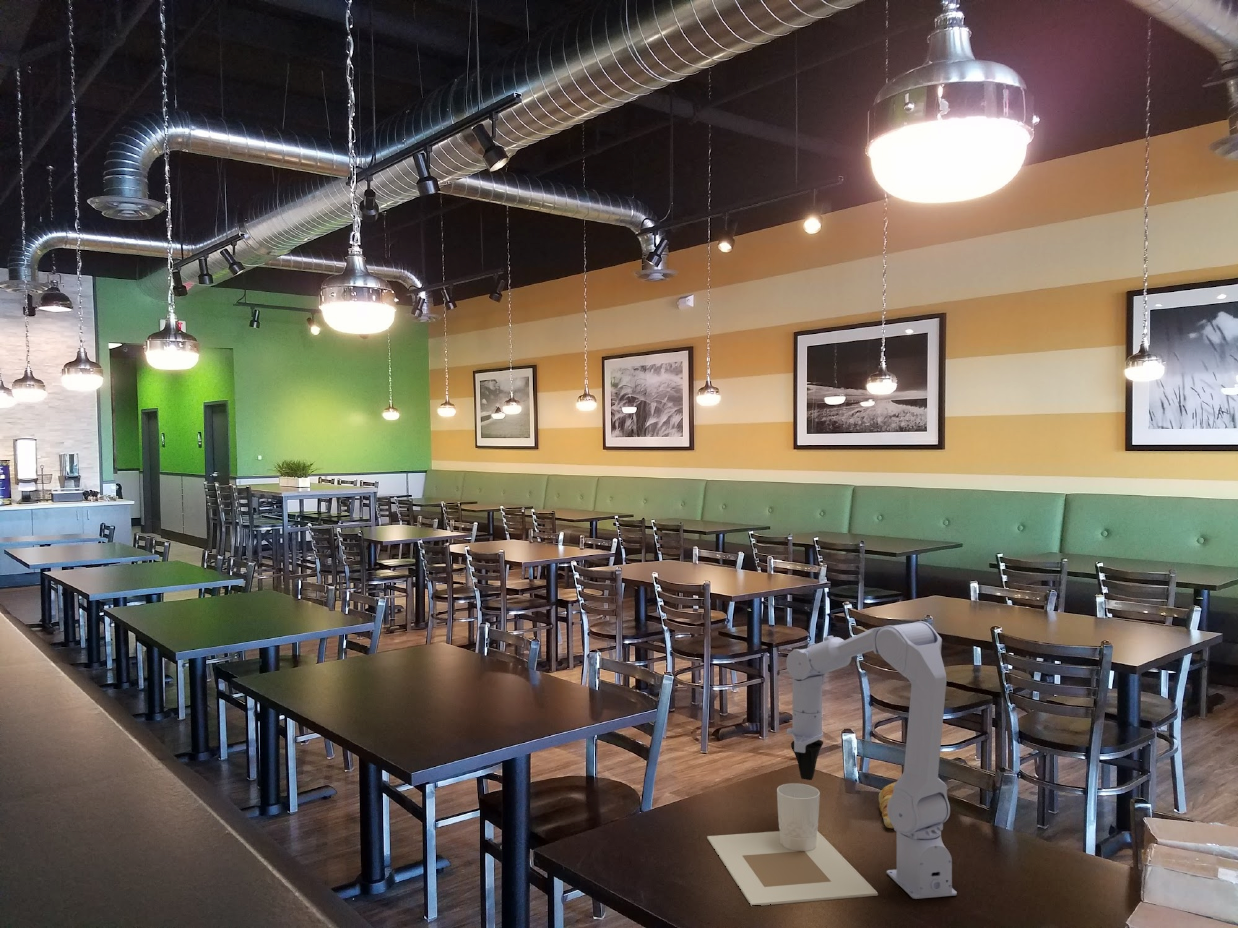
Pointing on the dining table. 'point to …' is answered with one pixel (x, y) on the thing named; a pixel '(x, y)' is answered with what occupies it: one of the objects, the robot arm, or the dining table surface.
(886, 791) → the croissant
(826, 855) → the placemat
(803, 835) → the white cup
